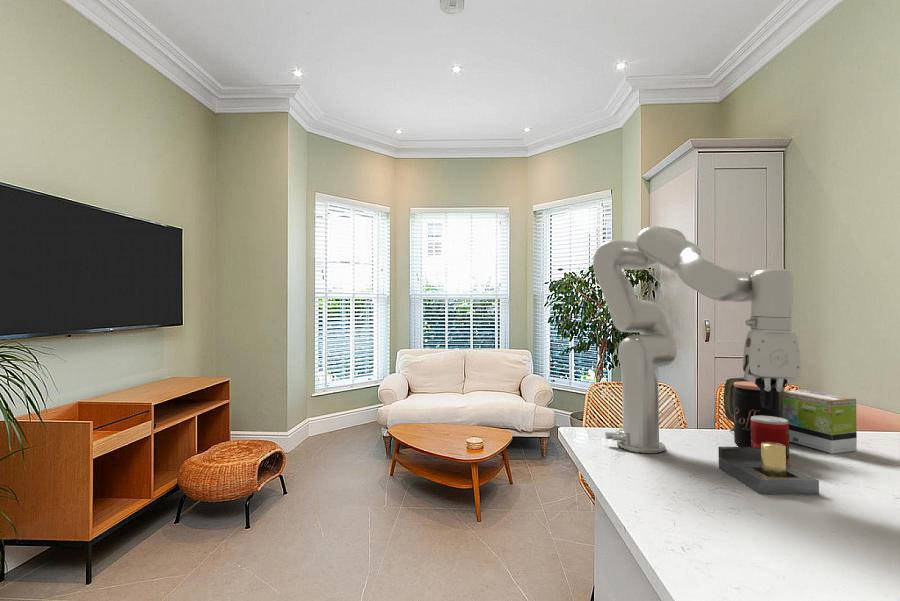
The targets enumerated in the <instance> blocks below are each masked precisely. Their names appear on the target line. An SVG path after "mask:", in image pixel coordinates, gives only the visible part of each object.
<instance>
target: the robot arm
mask: <svg viewBox="0 0 900 601" xmlns="http://www.w3.org/2000/svg"><path fill="white" fill-rule="evenodd" d="M659 265H662V266H663V267H665V268H667V269H669V270H670V271H671V272H673V273H675V274H676V275H677V276H678V278H679V279H680V280H681V281H682V283H684V284H685V285H686V286H687V287H690V288H691V289H692V290H694V291H696V292H698V293H699V294H701V295H703V296H705V297H707V298H709V299H710V300H713V301H716V302H731V303H733V302H734V303H748V302H751V304H750V307H751V308H750V317H749V318H750V319H746V320H745V322H744V323H745V325H746V326H749V328H750V330H747V333H746V337H745V340H744V346H743V353H742V354H743V355H742V371H743V372H744V375H743V377H744V380H747V381H750V382H754V383H755V384H756V385H757V386H758V388H759V389H760V403H761V407H763V408H766V409H769V410H772V409H773V410H777V409H778V404H779V392H780V391H781V390H782V388H783V387H784V388H785V386H786V385H787V384H792V383H796V382H797V378H798V377H800V376H801V372H802V371H801V369H802V368H801V366H802V364H801V350H800V346H799V345H800V344H799V340H798V335H797V333H796V332H795V331H794V332H793V303H794V302H793V301H794V299H793V296H794V294H793V293H794V292H793V290H794V288H793V287H794V275H793V273H792V271H790V270H789V269H785V268H764V269H757V270H754V271H752V270H743V269H742V270H741V269H734V268H724V267H722V266H719V265H718V264H715V263H714V262H712V261H710V260H708V259H706V258H704V257H703V256H702V250H701V248H700V246H699V245H698V244H696V243H694V242H691V241H690V240H688V239H686V236H685V234H684V233H682V232H681V231H680V230H678V229H676V228H670V227H664V226H657V225H654V226H653V225H651V226H648V227H646V228H643V229H642V230H640V231H639V232H638V235H637V236H636V238H635V241H631V240H622V239H611V240H610V239H609V240H606V241H604V242H602V243H601V244H600V245H598V247H597V249H596V251H595V252H594V256H593V263H592V270H593V272H594V276H595V278H596V281H597V283H598V285H599V288H600V289H601V292H602V295H603V297H604V301H605V303H606V306H607V310H608V312H609V315H610V319H611V320H612V323H613V325H614V328H616V330H618V331H619V332H622V333H623V332H624V333H638V334H633V335H629V336H626V337H625V338H624V339H622V340H621V341H620V343H619V346H618V351H617V352H618V353H617V354H618V355H617V356H618V359H619V360H618V361H619V365H620V372H621V391H622V392H621V393H622V394H621V395H622V398H621V399H622V428H619V430H617V431H616V432H612V431H606V432H605V433H604V434H605V435H604V437H605V439H606V440H612V441H616V445H617V446H618V447H619V446H620V447H621V448H620V447H619V448H620V449H622V448H624V449H623V450H625V449H626V450H625V451H628V450H629V452H633V451H634V452H633V453H639V452H641V453H640V454H657V453H658V452H659V453H663V452H665V450H666V444H664V443H663V442H661V441H660V409H659V408H660V407H659V406H660V405H659V404H660V403H659V402H660V401H659V381H658V377H657V375H656V372H655V369H654V368H663V367H666V366H669V365H671V364H673V362H674V361H675V360H676V357H677V346H676V341H675V339H674V337H673V334H672V332H671V329H670V325H669V323H668V321H667V319H666V316H665V313H664V312H663V310H662V309H661V307H660V306H659V305H658V304H657V303H655V302H653V301H651V300H643V299H639V298H638V296H637V295H636V293H635V290H634V287H633V284H632V283H631V282H632V281H630V280H629V278H628V276H626V275H625V274H624V273H623V271H622V270H629V271H630V270H631V271H642V270H645V269H649V268H652V267H655V266H659ZM754 375H755V376H756V377H754ZM662 451H663V452H662ZM659 453H658V454H659Z"/></svg>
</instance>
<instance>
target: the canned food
mask: <svg viewBox="0 0 900 601" xmlns="http://www.w3.org/2000/svg"><path fill="white" fill-rule="evenodd" d="M762 442H774V443H779V444H783V445H785V446H786V465H787V466H789V464H790V441H789V423H788V420H786V419H783V418H779V417H773V416H752V417H751V447H761V443H762Z"/></svg>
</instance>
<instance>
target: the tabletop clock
mask: <svg viewBox="0 0 900 601" xmlns="http://www.w3.org/2000/svg"><path fill="white" fill-rule="evenodd" d="M754 377H756V376H755V375H754ZM741 381H747V380H744V376H743V377H731V378H729V379H726V381H725V383H724V384H725V385H724V389H723V409H724V414H725V417H726V418H727V420H728V421H730V422H731V423H734V391H735V390H736V388H735V386H734V382H741ZM747 382H750V381H747ZM782 391H785V386H784V387H783V388H782V390H781V391H780V392H779V418H782V411H783V402H782ZM729 430H730V432H731V431H734V427H731V428H730V429H729Z"/></svg>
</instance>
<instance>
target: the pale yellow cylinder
mask: <svg viewBox="0 0 900 601" xmlns="http://www.w3.org/2000/svg"><path fill="white" fill-rule="evenodd" d="M761 463H762V474H764V475H766V476H767V477H786V446H785V445H783V444H779V443H774V442H762V443H761Z"/></svg>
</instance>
